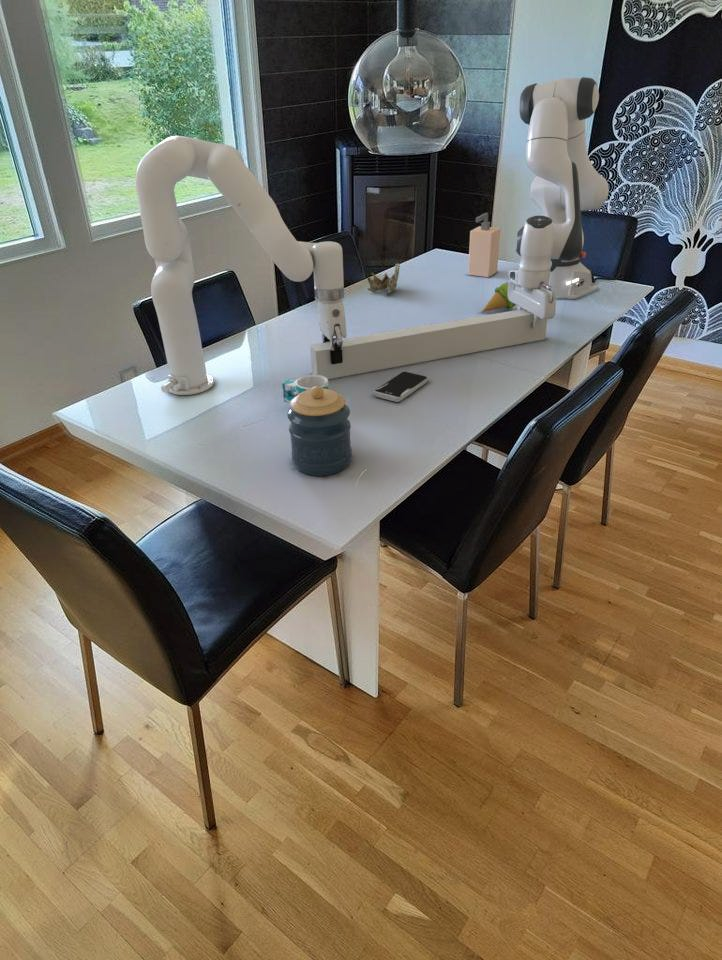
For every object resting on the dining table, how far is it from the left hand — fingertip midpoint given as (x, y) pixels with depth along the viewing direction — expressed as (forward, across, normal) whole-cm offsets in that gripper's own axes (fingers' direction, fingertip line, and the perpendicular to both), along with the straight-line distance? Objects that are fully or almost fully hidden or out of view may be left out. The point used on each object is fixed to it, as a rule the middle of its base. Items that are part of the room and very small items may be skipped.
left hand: (332, 358), depth 182 cm
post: (+5, 0, -30) cm, 31 cm away
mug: (+5, -18, +13) cm, 23 cm away
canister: (+5, -43, +17) cm, 46 cm away
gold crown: (+5, +63, -42) cm, 76 cm away
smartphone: (+5, -16, -13) cm, 21 cm away
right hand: (0, 0, -61) cm, 61 cm away
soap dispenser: (+4, +65, -81) cm, 104 cm away
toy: (+1, +26, -67) cm, 72 cm away
